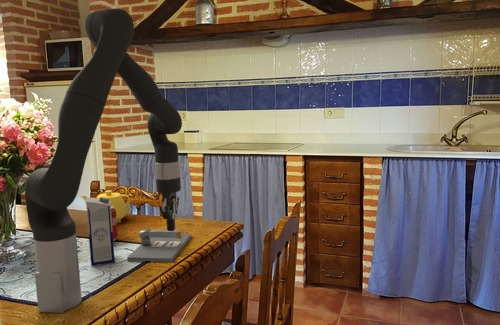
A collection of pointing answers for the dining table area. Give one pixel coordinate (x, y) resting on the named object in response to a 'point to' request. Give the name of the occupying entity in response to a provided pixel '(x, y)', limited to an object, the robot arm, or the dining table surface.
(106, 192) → the teapot
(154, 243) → the panel
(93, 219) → the milk carton
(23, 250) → the dining table surface
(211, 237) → the dining table surface
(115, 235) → the beverage can
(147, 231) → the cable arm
